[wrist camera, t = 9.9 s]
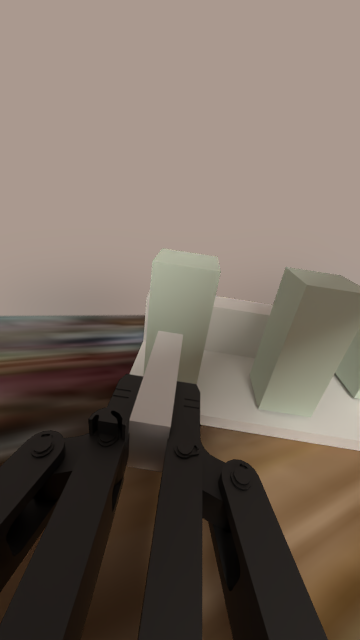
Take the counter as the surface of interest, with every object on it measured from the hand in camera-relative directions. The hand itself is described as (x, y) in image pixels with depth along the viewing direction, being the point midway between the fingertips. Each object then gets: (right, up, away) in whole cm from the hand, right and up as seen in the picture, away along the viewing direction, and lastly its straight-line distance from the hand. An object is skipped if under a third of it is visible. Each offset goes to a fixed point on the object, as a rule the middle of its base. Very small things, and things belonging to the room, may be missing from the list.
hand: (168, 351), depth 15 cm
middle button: (+9, -4, +5) cm, 11 cm away
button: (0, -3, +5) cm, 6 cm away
